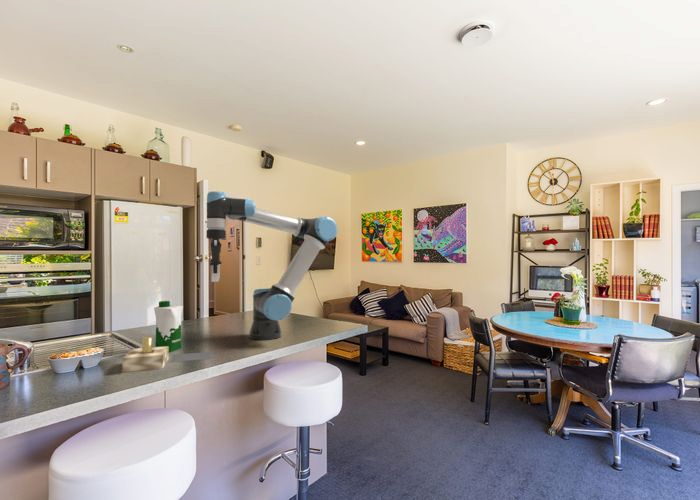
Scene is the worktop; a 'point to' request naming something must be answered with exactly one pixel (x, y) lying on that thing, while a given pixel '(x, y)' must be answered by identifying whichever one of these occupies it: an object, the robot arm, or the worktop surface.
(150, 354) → the hole block
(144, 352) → the brass pin
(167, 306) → the milk carton
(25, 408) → the worktop surface
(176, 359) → the mat
